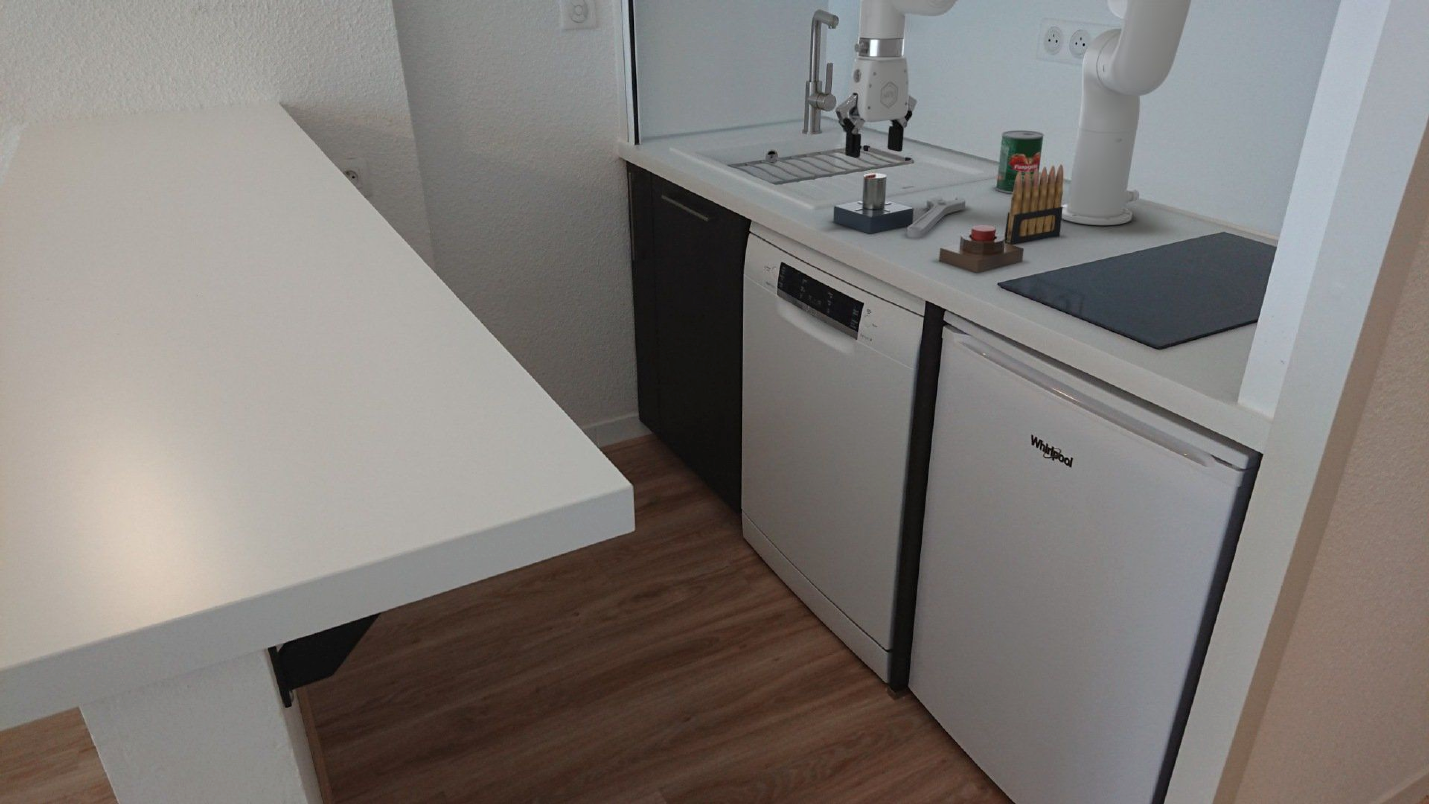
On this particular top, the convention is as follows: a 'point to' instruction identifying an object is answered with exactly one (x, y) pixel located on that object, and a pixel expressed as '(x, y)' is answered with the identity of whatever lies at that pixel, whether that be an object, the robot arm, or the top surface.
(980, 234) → the release button
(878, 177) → the silver upright cylinder
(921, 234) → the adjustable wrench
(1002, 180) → the canned tomato
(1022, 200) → the ammunition clip
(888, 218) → the block
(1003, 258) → the block
